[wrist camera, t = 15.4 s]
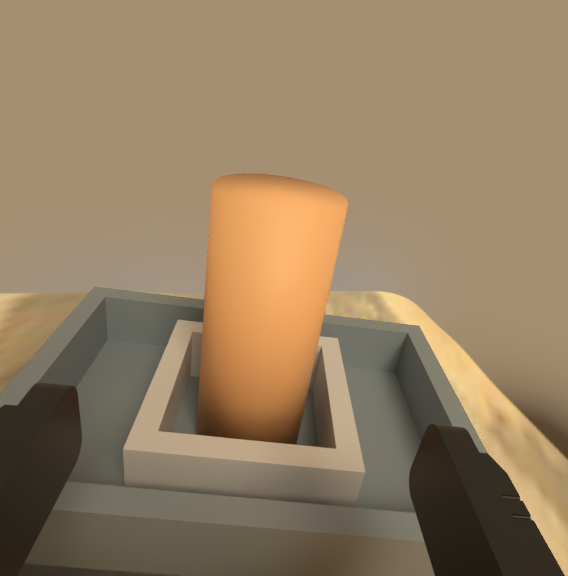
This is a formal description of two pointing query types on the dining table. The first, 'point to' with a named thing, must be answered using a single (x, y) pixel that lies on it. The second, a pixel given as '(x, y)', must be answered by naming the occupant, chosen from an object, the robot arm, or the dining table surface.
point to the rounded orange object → (264, 303)
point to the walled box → (234, 452)
